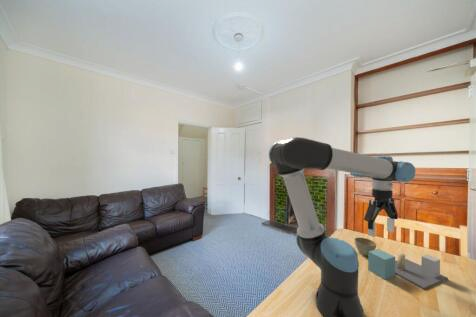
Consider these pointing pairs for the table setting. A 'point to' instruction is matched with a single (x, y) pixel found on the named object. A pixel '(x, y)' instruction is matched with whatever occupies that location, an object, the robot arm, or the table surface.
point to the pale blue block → (381, 263)
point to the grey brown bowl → (364, 245)
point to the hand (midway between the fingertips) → (381, 233)
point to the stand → (420, 271)
